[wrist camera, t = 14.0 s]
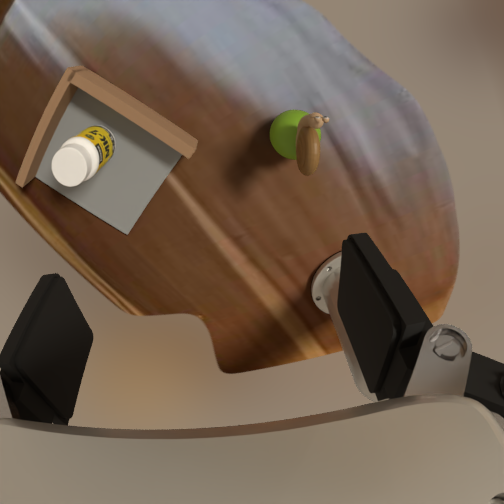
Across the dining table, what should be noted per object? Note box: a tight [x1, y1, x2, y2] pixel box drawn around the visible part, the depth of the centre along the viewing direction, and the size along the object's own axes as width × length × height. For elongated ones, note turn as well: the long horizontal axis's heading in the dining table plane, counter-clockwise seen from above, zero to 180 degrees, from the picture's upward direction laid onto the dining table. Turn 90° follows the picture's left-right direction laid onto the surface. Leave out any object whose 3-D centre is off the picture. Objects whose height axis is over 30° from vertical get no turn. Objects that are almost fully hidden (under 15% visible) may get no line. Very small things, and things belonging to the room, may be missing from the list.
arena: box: [16, 66, 198, 235], centre depth 32 cm, size 17×15×4 cm
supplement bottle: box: [52, 125, 116, 187], centre depth 29 cm, size 5×5×8 cm
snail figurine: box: [270, 110, 329, 175], centre depth 30 cm, size 5×6×12 cm
